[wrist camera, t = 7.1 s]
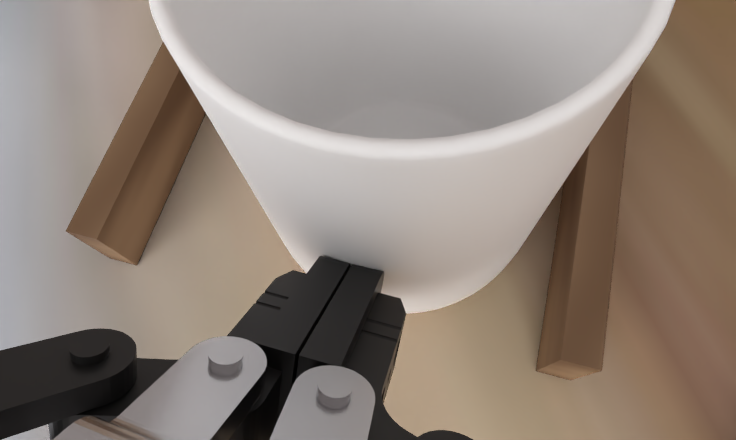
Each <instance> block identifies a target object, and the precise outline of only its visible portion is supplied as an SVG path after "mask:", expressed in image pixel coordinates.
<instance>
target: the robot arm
mask: <svg viewBox="0 0 736 440" xmlns="http://www.w3.org/2000/svg"><path fill="white" fill-rule="evenodd" d="M383 280H384V271H380V270H375V269H371V268H367V267H363V266H358V265H354V264H352V266H351V265H350V263H347V262H343V261H340V260H336V259H332V258H328V257H324V256H319V258H318V259H317V260H316V262H315V263H314V264H313V266H312V267H311V268H310V270H309V271H308V272H307V274H305V273H301V272H297V271H291V272H288V273H286V274H284V275H282V276H280V277H278V278H276V279H275V280H274V281H273V282H272V283H271V285H270V286H269V287H268V288H267V289H266V290H265V293H263V294H262V295H261V296H260V298H259V299H258V300H257V302H256V304H254V305H253V306H252V307H251V308H250V309H249V311H248V312H247V313H246V314H245V315H244V317H243V318H242V319H241V320H240V321H239V322H238V324H237V325H236V326H235V327H234V328H233V330H232V331H231V332H230V333H229V334H228V336H223V337H215V338H211V339H207V340H204V341H202V342H200V343H198V344H196V345H195V346H194V347H192V348H191V349H190V350H189V351H188V352H187V353H186V354H184V355H183V356H182V357H181V358H180V359H179V360H164V359H142V358H137V355H136V345H135V342H134V341H133V339H132V338H131V337H129V336H128V335H126V334H125V333H123V332H120V331H116V330H111V329H89V330H83V331H79V332H75V333H70V334H66V335H62V336H58V337H54V338H50V339H46V340H42V341H38V342H34V343H30V344H26V345H21V346H17V347H13V348H9V349H5V350H1V351H0V440H1V439H4V438H7V437H10V436H13V435H16V434H19V433H22V432H25V431H28V430H31V429H34V428H37V427H40V426H43V425H46V424H48V425H49V433H50V440H473V439H471V438H469V437H467V436H465V435H462V434H460V433H456V432H452V431H445V430H436V431H430V432H427V433H424V434H422V435H421V436H419V437H416V436H414V435H413V434H411V433H409V432H408V431H406V430H405V429H403V428H402V427H400V426H399V425H398V424H397V423H396V422H395V421H394V420H393V419H392V418H391V417H390V416H389V414H388V413H387V411H386V409H385V407H384V405H383V403H384V399H385V396H386V393H387V390H388V386H389V383H390V380H391V376H392V373H393V370H394V366H395V361H396V357H397V352H398V347H399V343H400V338H401V334H402V329H403V325H404V320H405V316H406V312H405V309H404V306H403V303H402V301H401V298H397V297H393V296H390V295H386V294H382V293H381V290H382V285H383Z"/></svg>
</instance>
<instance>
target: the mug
mask: <svg viewBox="0 0 736 440" xmlns="http://www.w3.org/2000/svg"><path fill="white" fill-rule="evenodd" d="M675 1H676V0H149V5H150V9H151V14H152V17H153V19H154V21H155V24H156V26H157V29H158V31H159V33H160V36H161V38H162V40H163V42H164V44H165V45H166V47H167V49H168V50H169V52H170V54H171V55H172V57H173V59H174V61H175V62H176V64H177V66H178V67H179V69H180V71H181V72H182V74H183V76H184V77H185V79H186V81H187V82H188V84H189V86H190V87H191V89H192V91H193V92H194V94H195V96H196V97H197V99H198V101H199V102H200V104H201V106H202V107H203V109H204V111H205V112H206V114H207V116H208V117H209V119H210V121H211V123H212V124H213V126H214V128H215V129H216V131H217V133H218V134H219V136H220V138H221V139H222V141H223V143H224V144H225V146H226V148H227V149H228V151H229V153H230V154H231V156H232V158H233V159H234V161H235V163H236V164H237V166H238V168H239V169H240V171H241V173H242V174H243V176H244V178H245V179H246V181H247V183H248V185H249V186H250V188H251V190H252V191H253V193H254V195H255V196H256V198H257V200H258V201H259V203H260V205H261V206H262V208H263V210H264V211H265V213H266V215H267V216H268V218H269V220H270V221H271V223H272V225H273V226H274V228H275V230H276V231H277V233H278V235H279V236H280V238H281V240H282V241H283V243H284V245H285V246H286V248H287V249H288V251H289V252H290V254H291V255H292V257H293V258H294V259H295V261H296V262H297V263H298V264H299V265H300V267H301V268H302V269H303V270H304V271H305V272H306V273H307V272H308V271H309V270H310V268H311V267H312V266H313V264H314V263H315V262H316V260H317V259H318V258H319V256H324V257H328V258H332V259H336V260H340V261H343V262H347V263H350V265H351V266H352V264H354V265H358V266H363V267H367V268H371V269H375V270H380V271H384V280H383V285H382V290H381V293H382V294H386V295H390V296H393V297H397V298H401V301H402V303H403V306H404V309H405V312H406V314H407V313H421V312H426V311H431V310H436V309H440V308H443V307H446V306H449V305H452V304H455V303H457V302H459V301H461V300H463V299H465V298H467V297H469V296H471V295H473V294H474V293H476V292H477V291H479V290H480V289H482V288H483V287H485V286H486V285H487V284H488V283H490V282H491V281H492V280H493V279H494V278H495V277H496V276H497V275H498V274H499V273H501V271H502V270H503V269H504V268H505V267H506V266H507V265H508V263H509V262H510V261H511V260H512V259H513V257H514V256H515V255H516V253H517V252H518V251H519V249H520V248H521V246H522V245H523V243H524V242H525V240H526V239H527V237H528V236H529V234H530V233H531V231H532V230H533V228H534V227H535V225H536V224H537V222H538V221H539V219H540V218H541V216H542V215H543V213H544V212H545V210H546V209H547V207H548V205H549V204H550V202H551V201H552V199H553V198H554V196H555V195H556V193H557V192H558V190H559V189H560V187H561V186H562V184H563V183H564V181H565V180H566V178H567V177H568V175H569V174H570V172H571V171H572V169H573V168H574V166H575V165H576V163H577V162H578V160H579V159H580V157H581V156H582V154H583V153H584V151H585V150H586V148H587V147H588V145H589V144H590V142H591V141H592V139H593V138H594V136H595V135H596V133H597V132H598V130H599V129H600V127H601V126H602V124H603V123H604V121H605V120H606V118H607V117H608V115H609V114H610V112H611V111H612V109H613V107H614V106H615V104H616V103H617V101H618V100H619V98H620V97H621V95H622V94H623V92H624V91H625V89H626V88H627V86H628V85H629V83H630V82H631V80H632V79H633V77H634V76H635V74H636V73H637V71H638V70H639V68H640V67H641V65H642V64H643V62H644V61H645V59H646V58H647V56H648V55H649V53H650V52H651V50H652V48H653V47H654V45H655V43H656V42H657V40H658V38H659V37H660V35H661V33H662V32H663V30H664V28H665V27H666V24H667V22H668V19H669V16H670V14H671V11H672V9H673V6H674V3H675Z"/></svg>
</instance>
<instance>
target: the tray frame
mask: <svg viewBox="0 0 736 440" xmlns="http://www.w3.org/2000/svg"><path fill="white" fill-rule="evenodd" d="M632 82H633V79H632V80H631V82H630V83H629V85H628V86H627V88H626V89H625V91H624V92H623V94H622V95H621V97H620V98H619V100H618V101H617V103H616V104H615V106H614V107H613V109H612V111H611V112H610V114H609V115H608V117H607V118H606V120H605V121H604V123H603V124H602V126H601V127H600V129H599V130H598V132H597V133H596V135H595V136H594V138H593V139H592V141H591V142H590V144H589V145H588V147H587V148H586V150H585V151H584V153H583V154H582V156H581V157H580V159H579V160H578V162H577V163H576V165H575V166H574V168H573V169H572V171H571V172H570V174H569V175H568V177H567V178H566V180H565V181H564V187H563V194H562V201H561V207H560V214H559V221H558V227H557V234H556V241H555V247H554V254H553V261H552V267H551V274H550V280H549V287H548V294H547V300H546V307H545V314H544V320H543V327H542V334H541V340H540V347H539V354H538V360H537V367H536V371H538V372H542V373H546V374H549V375H553V376H557V377H561V378H565V379H568V380H573V379H576V378H579V377H583V376H586V375H589V374H592V373H595V372H599V371H602V365H603V355H604V346H605V337H606V327H607V318H608V308H609V299H610V289H611V280H612V271H613V261H614V252H615V242H616V233H617V223H618V214H619V204H620V195H621V186H622V176H623V167H624V157H625V148H626V138H627V129H628V120H629V110H630V101H631V91H632ZM205 113H206V112H205V111H204V109H203V107H202V106H201V104H200V102H199V101H198V99H197V97H196V96H195V94H194V92H193V91H192V89H191V87H190V86H189V84H188V82H187V81H186V79H185V77H184V76H183V74H182V72H181V71H180V69H179V67H178V66H177V64H176V62H175V61H174V59H173V57H172V55H171V54H170V52H169V50H168V49H167V47H166V45H165V44H164V42H163V43H162V45H161V47H160V49H159V51H158V53H157V55H156V57H155V59H154V61H153V63H152V65H151V67H150V69H149V71H148V73H147V74H146V76H145V78H144V80H143V82H142V84H141V86H140V88H139V90H138V92H137V94H136V96H135V98H134V100H133V102H132V104H131V105H130V107H129V109H128V111H127V113H126V115H125V117H124V119H123V121H122V123H121V125H120V127H119V129H118V131H117V133H116V135H115V136H114V138H113V140H112V142H111V144H110V146H109V148H108V150H107V152H106V154H105V156H104V158H103V160H102V162H101V164H100V166H99V168H98V169H97V171H96V173H95V175H94V177H93V179H92V181H91V183H90V185H89V187H88V189H87V191H86V193H85V195H84V197H83V199H82V200H81V202H80V204H79V206H78V208H77V210H76V212H75V214H74V216H73V218H72V220H71V222H70V224H69V226H68V228H67V230H66V232H68V233H70V234H71V235H73V236H74V237H76V238H78V239H79V240H81V241H83V242H84V243H86V244H88V245H89V246H91V247H92V248H94V249H96V250H97V251H99V252H101V253H102V254H104V255H106V256H107V257H109V258H111V259H115V260H119V261H123V262H126V263H130V264H134V265H137V264H138V262H139V260H140V257H141V255H142V253H143V251H144V248H145V246H146V244H147V242H148V240H149V237H150V235H151V233H152V231H153V229H154V226H155V224H156V222H157V220H158V217H159V215H160V213H161V211H162V209H163V206H164V204H165V202H166V200H167V197H168V195H169V193H170V191H171V189H172V186H173V184H174V182H175V180H176V178H177V175H178V173H179V171H180V169H181V166H182V164H183V162H184V160H185V158H186V155H187V153H188V151H189V149H190V147H191V144H192V142H193V140H194V138H195V135H196V133H197V131H198V129H199V127H200V124H201V122H202V120H203V118H204V116H205Z"/></svg>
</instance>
